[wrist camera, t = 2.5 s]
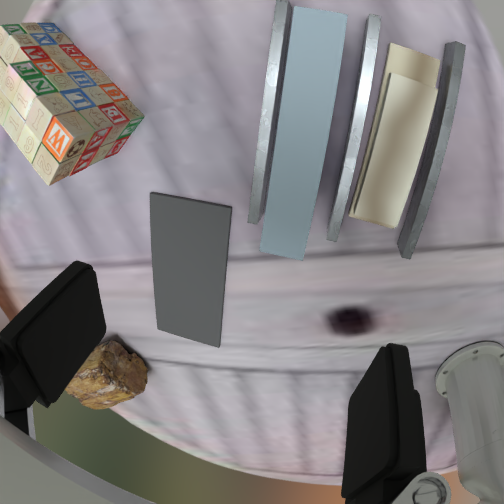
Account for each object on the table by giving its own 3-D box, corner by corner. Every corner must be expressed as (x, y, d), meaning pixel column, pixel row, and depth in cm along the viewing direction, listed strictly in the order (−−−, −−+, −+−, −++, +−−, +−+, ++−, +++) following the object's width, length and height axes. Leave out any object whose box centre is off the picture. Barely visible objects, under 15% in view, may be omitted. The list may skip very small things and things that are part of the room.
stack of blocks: (33, 58, 31) (-37, 70, 21) (53, 22, 28) (-19, 24, 18) (118, 154, 36) (47, 188, 25) (147, 116, 33) (72, 139, 22)
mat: (232, 206, 36) (230, 208, 35) (220, 345, 47) (219, 347, 46) (151, 191, 37) (149, 193, 37) (159, 327, 48) (157, 329, 48)
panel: (341, 43, 25) (347, 14, 14) (314, 196, 33) (302, 260, 22) (309, 37, 25) (294, 6, 14) (286, 190, 33) (259, 251, 22)
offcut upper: (433, 88, 24) (438, 89, 22) (394, 220, 31) (396, 226, 30) (388, 73, 24) (391, 72, 23) (353, 208, 31) (354, 214, 30)
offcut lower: (435, 61, 23) (440, 60, 22) (391, 222, 33) (393, 229, 31) (387, 44, 24) (390, 42, 23) (348, 210, 33) (348, 216, 32)
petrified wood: (110, 323, 51) (90, 372, 43) (166, 362, 57) (154, 409, 49) (69, 351, 59) (52, 389, 52) (116, 381, 65) (104, 419, 57)
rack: (454, 47, 21) (465, 45, 19) (405, 245, 33) (410, 259, 30) (281, 6, 24) (276, -2, 21) (254, 211, 35) (247, 222, 33)
